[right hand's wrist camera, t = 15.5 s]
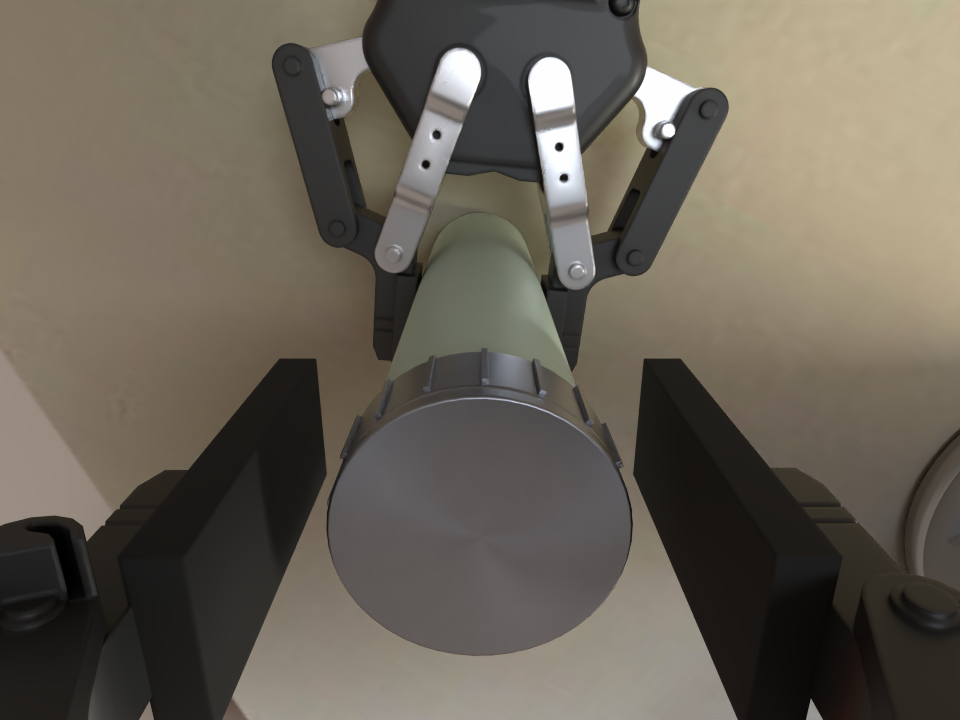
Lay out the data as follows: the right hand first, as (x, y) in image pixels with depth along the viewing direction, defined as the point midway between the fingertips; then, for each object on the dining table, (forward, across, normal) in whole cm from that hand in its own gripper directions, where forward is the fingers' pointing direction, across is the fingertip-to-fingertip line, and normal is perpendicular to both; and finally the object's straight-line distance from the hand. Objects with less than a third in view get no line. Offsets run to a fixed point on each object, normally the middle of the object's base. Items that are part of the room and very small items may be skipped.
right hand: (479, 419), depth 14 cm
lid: (-4, 0, 0) cm, 4 cm away
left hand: (+9, 0, -3) cm, 10 cm away
